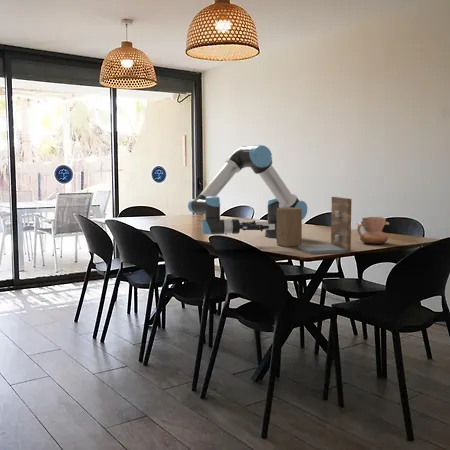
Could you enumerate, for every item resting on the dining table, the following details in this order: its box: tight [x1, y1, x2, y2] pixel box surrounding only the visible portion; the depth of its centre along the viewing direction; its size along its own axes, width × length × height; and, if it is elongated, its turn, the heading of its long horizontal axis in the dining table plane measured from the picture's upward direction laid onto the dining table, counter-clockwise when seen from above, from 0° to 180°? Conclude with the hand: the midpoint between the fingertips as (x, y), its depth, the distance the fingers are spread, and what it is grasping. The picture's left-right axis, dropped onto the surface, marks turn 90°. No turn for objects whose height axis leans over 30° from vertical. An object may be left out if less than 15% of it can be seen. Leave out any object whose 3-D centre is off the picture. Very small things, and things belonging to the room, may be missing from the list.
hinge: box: [356, 220, 366, 234], centre depth 317 cm, size 17×5×10 cm, turn 178°
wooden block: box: [276, 207, 303, 248], centre depth 277 cm, size 10×10×20 cm
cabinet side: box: [330, 196, 352, 254], centre depth 261 cm, size 3×20×26 cm, turn 10°
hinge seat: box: [297, 243, 347, 255], centre depth 260 cm, size 18×18×2 cm
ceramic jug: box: [356, 216, 390, 245], centre depth 283 cm, size 18×14×14 cm
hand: (271, 225), depth 276 cm, fingers open, 13 cm apart
